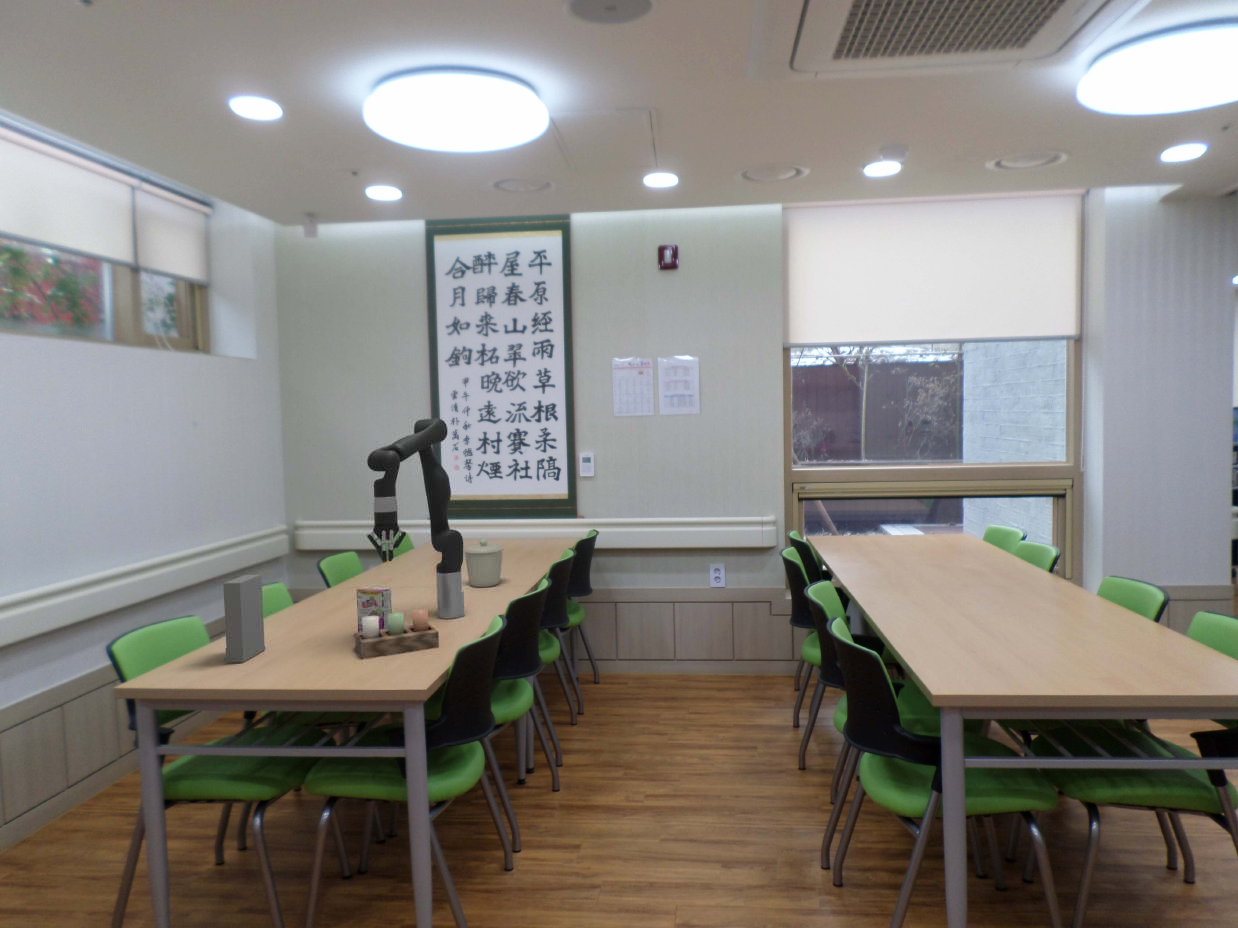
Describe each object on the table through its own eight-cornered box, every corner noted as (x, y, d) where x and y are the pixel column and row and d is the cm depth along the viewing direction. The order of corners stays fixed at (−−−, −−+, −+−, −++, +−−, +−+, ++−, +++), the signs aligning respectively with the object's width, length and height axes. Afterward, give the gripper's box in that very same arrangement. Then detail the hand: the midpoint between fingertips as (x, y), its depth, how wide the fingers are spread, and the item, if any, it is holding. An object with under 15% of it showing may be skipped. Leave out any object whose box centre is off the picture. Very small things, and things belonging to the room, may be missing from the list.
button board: (427, 637, 265) (427, 622, 265) (438, 646, 253) (438, 631, 252) (354, 647, 254) (354, 632, 253) (362, 658, 241) (362, 642, 241)
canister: (458, 589, 344) (456, 542, 343) (472, 580, 362) (471, 536, 361) (497, 589, 341) (496, 542, 340) (509, 581, 359) (508, 536, 358)
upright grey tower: (246, 650, 253) (243, 574, 252) (265, 650, 253) (262, 574, 252) (224, 663, 240) (220, 583, 238) (243, 663, 239) (239, 583, 238)
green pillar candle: (402, 633, 256) (401, 611, 256) (405, 636, 252) (405, 614, 252) (387, 635, 254) (386, 613, 254) (390, 638, 250) (389, 616, 249)
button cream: (377, 636, 253) (376, 614, 252) (380, 640, 248) (379, 617, 248) (361, 638, 250) (360, 616, 250) (364, 642, 246) (363, 620, 245)
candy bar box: (357, 635, 269) (355, 588, 268) (366, 632, 274) (364, 586, 273) (384, 637, 265) (382, 590, 264) (393, 634, 270) (391, 587, 269)
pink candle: (426, 629, 260) (425, 608, 260) (430, 632, 256) (429, 611, 255) (411, 631, 258) (410, 610, 257) (415, 635, 253) (414, 613, 253)
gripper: (403, 507, 266) (405, 557, 267) (362, 510, 260) (364, 561, 261) (408, 509, 260) (410, 560, 261) (366, 512, 253) (368, 564, 254)
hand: (387, 561), depth 261 cm, fingers closed
